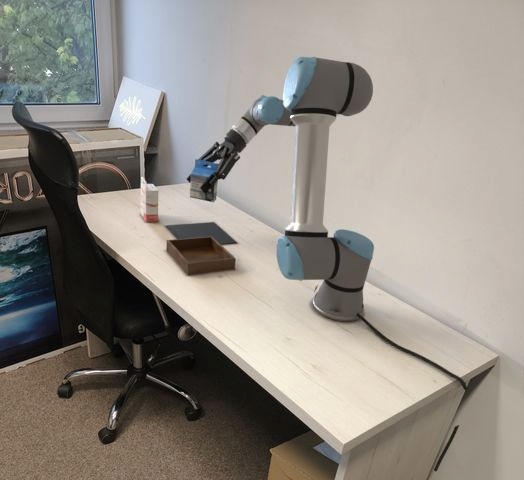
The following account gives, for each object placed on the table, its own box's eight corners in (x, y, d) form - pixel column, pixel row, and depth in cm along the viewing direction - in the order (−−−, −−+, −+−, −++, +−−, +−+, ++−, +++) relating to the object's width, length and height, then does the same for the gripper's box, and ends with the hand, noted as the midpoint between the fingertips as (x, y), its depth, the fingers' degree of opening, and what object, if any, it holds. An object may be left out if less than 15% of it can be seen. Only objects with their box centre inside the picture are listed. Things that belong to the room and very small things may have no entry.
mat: (236, 243, 175) (237, 242, 175) (185, 248, 166) (185, 247, 166) (213, 222, 189) (213, 222, 189) (165, 226, 179) (165, 225, 179)
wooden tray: (234, 269, 157) (235, 258, 155) (187, 275, 149) (188, 263, 147) (211, 246, 170) (211, 236, 168) (166, 250, 162) (166, 239, 160)
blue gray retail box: (189, 197, 168) (190, 161, 161) (193, 194, 171) (194, 158, 164) (213, 202, 167) (215, 166, 160) (216, 199, 170) (219, 163, 163)
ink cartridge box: (158, 221, 182) (159, 182, 174) (145, 222, 180) (145, 182, 172) (153, 213, 188) (153, 175, 180) (140, 214, 186) (139, 175, 178)
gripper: (262, 153, 160) (217, 204, 161) (228, 136, 174) (187, 183, 174) (251, 136, 154) (204, 189, 155) (217, 120, 168) (174, 169, 169)
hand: (195, 186), depth 165 cm, fingers closed on blue gray retail box, 9 cm apart
